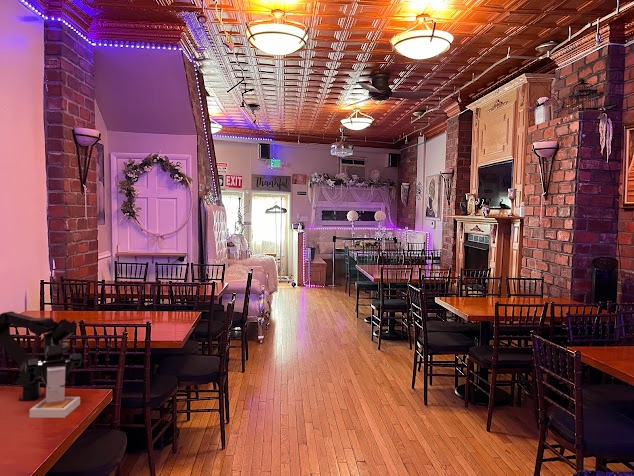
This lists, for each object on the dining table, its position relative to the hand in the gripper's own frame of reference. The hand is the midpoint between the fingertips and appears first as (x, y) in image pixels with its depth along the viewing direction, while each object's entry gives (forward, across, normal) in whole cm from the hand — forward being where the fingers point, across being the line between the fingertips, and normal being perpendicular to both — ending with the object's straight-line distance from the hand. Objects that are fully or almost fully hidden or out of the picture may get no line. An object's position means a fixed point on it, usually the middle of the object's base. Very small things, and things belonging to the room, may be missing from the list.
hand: (56, 383), depth 175 cm
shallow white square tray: (+7, 0, +8) cm, 11 cm away
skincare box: (+4, 0, +6) cm, 7 cm away
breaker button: (+6, 0, +7) cm, 9 cm away
